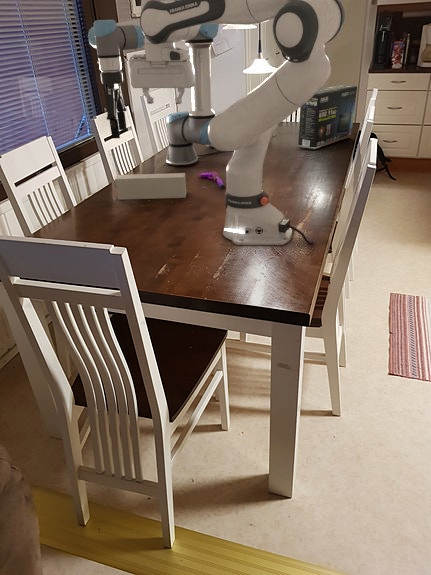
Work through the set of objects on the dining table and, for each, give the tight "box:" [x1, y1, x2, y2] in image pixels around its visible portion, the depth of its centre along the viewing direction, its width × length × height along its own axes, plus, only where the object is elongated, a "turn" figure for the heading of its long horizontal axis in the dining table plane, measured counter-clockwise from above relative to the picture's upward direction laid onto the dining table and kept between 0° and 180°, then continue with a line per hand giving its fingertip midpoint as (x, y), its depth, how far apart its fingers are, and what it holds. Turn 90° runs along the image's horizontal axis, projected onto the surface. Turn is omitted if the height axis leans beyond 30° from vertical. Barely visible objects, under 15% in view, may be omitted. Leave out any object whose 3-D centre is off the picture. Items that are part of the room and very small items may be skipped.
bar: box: [114, 172, 188, 200], centre depth 181 cm, size 27×5×8 cm, turn 89°
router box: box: [297, 84, 358, 151], centre depth 238 cm, size 36×11×27 cm, turn 134°
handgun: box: [199, 171, 226, 190], centre depth 194 cm, size 21×8×2 cm, turn 11°
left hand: (119, 133), depth 170 cm, fingers open, 13 cm apart
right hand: (164, 103), depth 143 cm, fingers open, 8 cm apart
